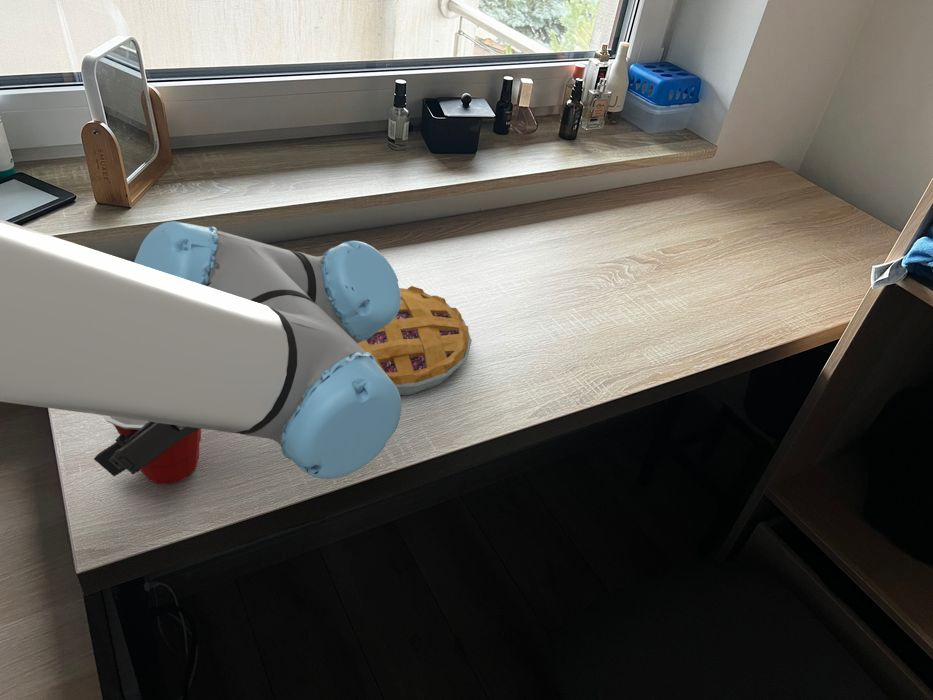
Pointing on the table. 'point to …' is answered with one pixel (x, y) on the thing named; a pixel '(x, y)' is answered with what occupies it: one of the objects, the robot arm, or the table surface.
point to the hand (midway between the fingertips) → (137, 431)
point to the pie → (420, 342)
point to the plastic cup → (165, 453)
